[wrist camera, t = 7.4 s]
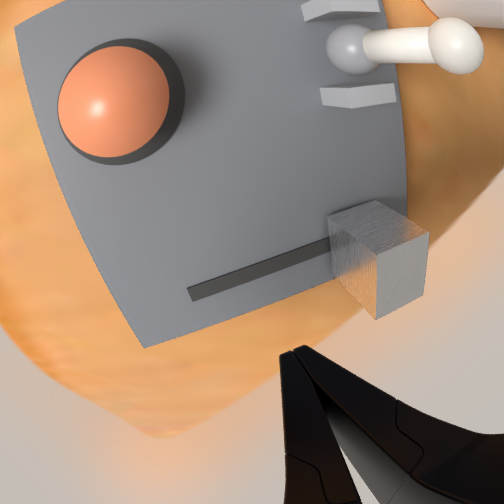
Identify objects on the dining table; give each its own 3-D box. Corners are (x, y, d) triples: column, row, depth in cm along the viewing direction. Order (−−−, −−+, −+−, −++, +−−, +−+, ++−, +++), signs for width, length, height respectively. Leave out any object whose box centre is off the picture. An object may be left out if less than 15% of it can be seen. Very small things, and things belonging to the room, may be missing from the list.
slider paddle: (375, 199, 13) (429, 231, 10) (376, 256, 15) (422, 295, 12) (326, 216, 13) (376, 255, 10) (333, 274, 14) (375, 320, 11)
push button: (153, 41, 8) (153, 31, 7) (178, 129, 10) (182, 134, 8) (61, 76, 8) (46, 73, 6) (88, 163, 9) (78, 174, 8)
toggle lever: (343, 28, 10) (484, 19, 5) (352, 74, 11) (493, 80, 6) (308, 27, 9) (468, 8, 5) (319, 79, 10) (479, 82, 6)
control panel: (345, -30, 10) (399, -52, 7) (384, 232, 17) (430, 265, 14) (32, 35, 8) (-10, 16, 5) (142, 321, 15) (145, 380, 12)
